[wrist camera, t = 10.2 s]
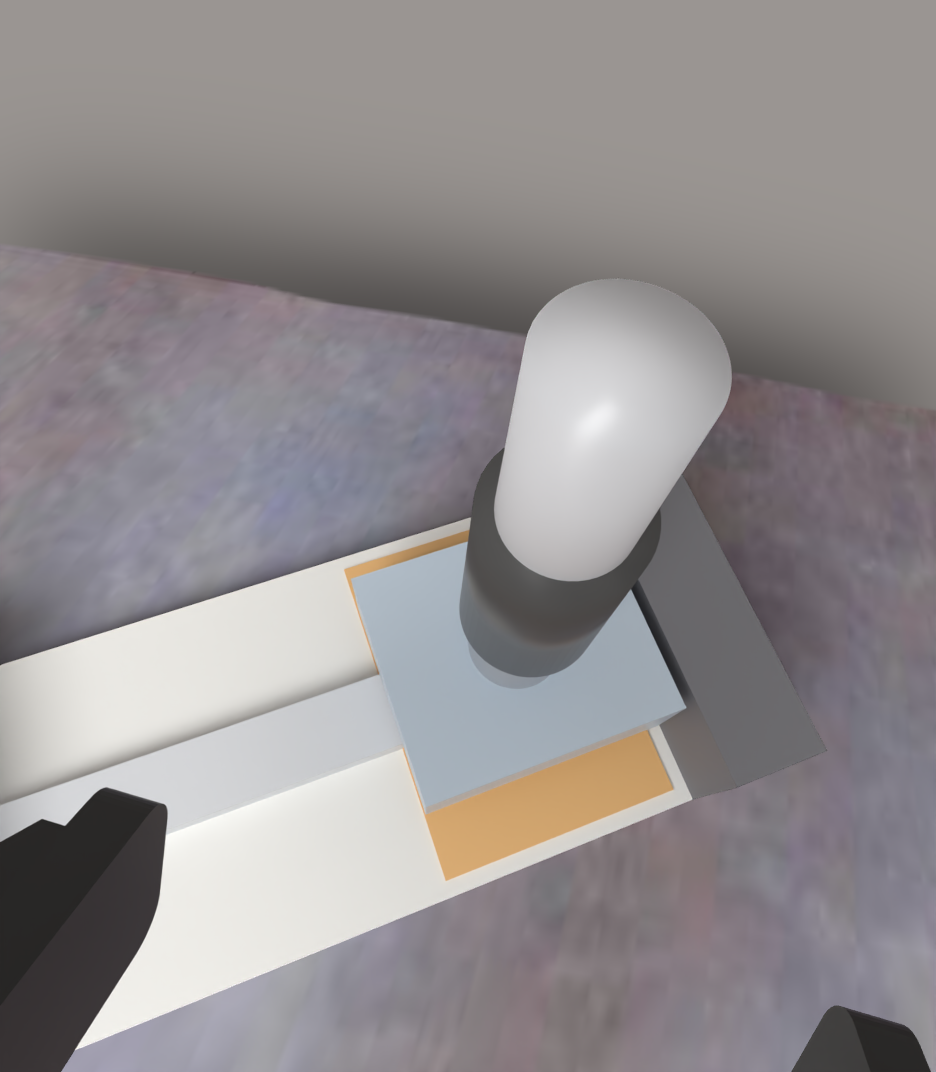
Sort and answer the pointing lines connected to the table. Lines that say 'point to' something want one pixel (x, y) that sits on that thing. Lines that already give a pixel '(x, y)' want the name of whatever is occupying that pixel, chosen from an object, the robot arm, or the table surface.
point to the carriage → (552, 551)
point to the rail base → (355, 759)
